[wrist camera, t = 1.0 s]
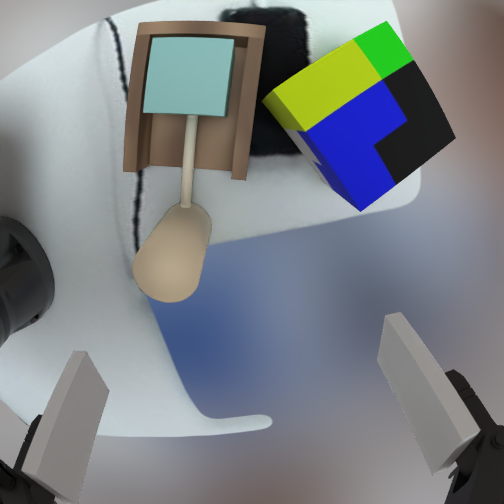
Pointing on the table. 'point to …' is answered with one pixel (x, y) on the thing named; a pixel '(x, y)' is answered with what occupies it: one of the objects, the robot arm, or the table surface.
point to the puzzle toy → (362, 116)
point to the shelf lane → (208, 128)
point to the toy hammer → (193, 105)
